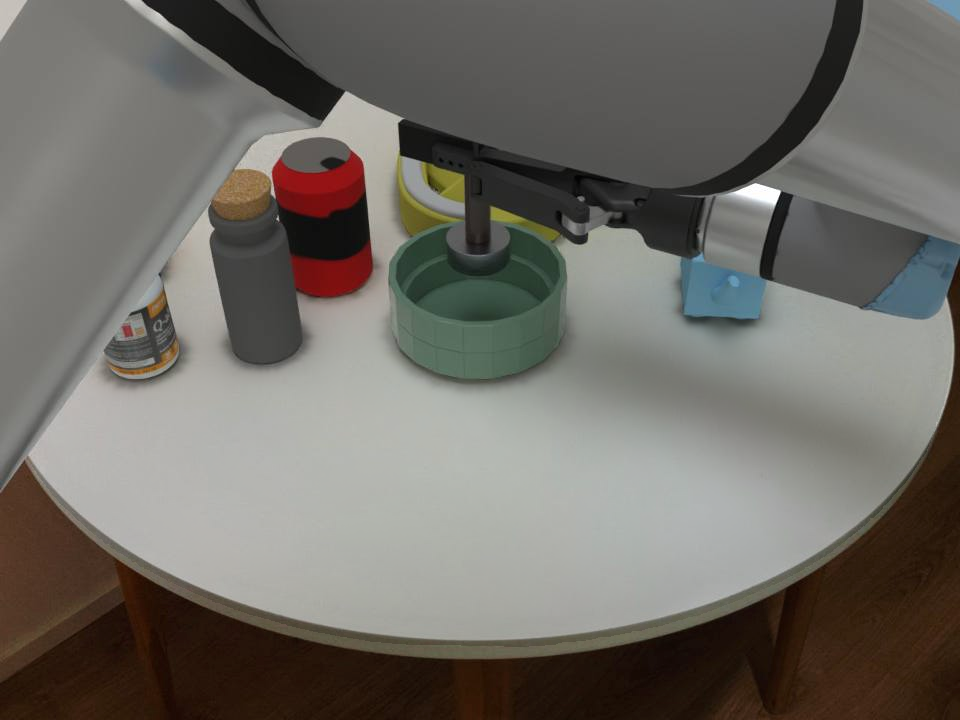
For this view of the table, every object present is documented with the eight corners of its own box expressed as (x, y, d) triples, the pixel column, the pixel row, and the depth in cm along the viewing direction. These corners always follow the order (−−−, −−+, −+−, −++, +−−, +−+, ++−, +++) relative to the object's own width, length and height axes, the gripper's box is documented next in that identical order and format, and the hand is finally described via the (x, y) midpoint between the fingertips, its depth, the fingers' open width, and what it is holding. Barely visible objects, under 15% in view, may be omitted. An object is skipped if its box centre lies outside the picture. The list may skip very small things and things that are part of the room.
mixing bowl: (458, 410, 81) (457, 350, 77) (361, 316, 89) (355, 258, 85) (598, 338, 87) (603, 279, 83) (494, 257, 95) (494, 201, 92)
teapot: (760, 353, 85) (777, 279, 80) (684, 349, 86) (696, 275, 81) (746, 266, 94) (761, 194, 89) (678, 262, 95) (688, 191, 90)
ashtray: (529, 134, 112) (530, 91, 109) (595, 242, 97) (598, 196, 94) (377, 155, 109) (373, 112, 106) (421, 271, 94) (418, 224, 91)
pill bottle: (184, 373, 84) (158, 273, 77) (110, 389, 83) (77, 288, 76) (177, 330, 88) (151, 231, 81) (106, 344, 87) (74, 245, 80)
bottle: (309, 320, 89) (287, 165, 79) (293, 366, 84) (267, 209, 75) (242, 316, 89) (210, 162, 79) (222, 362, 85) (187, 205, 75)
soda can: (328, 310, 90) (312, 190, 82) (270, 275, 94) (249, 157, 86) (391, 269, 94) (381, 151, 86) (332, 238, 98) (318, 122, 90)
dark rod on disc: (471, 284, 81) (467, 65, 69) (434, 254, 84) (424, 39, 72) (522, 261, 83) (527, 44, 71) (484, 232, 86) (483, 20, 74)
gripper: (670, 314, 68) (360, 221, 76) (739, 199, 78) (459, 129, 86) (683, 216, 63) (351, 129, 71) (756, 107, 73) (457, 42, 81)
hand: (411, 129), depth 79 cm, fingers closed on dark rod on disc, 2 cm apart
